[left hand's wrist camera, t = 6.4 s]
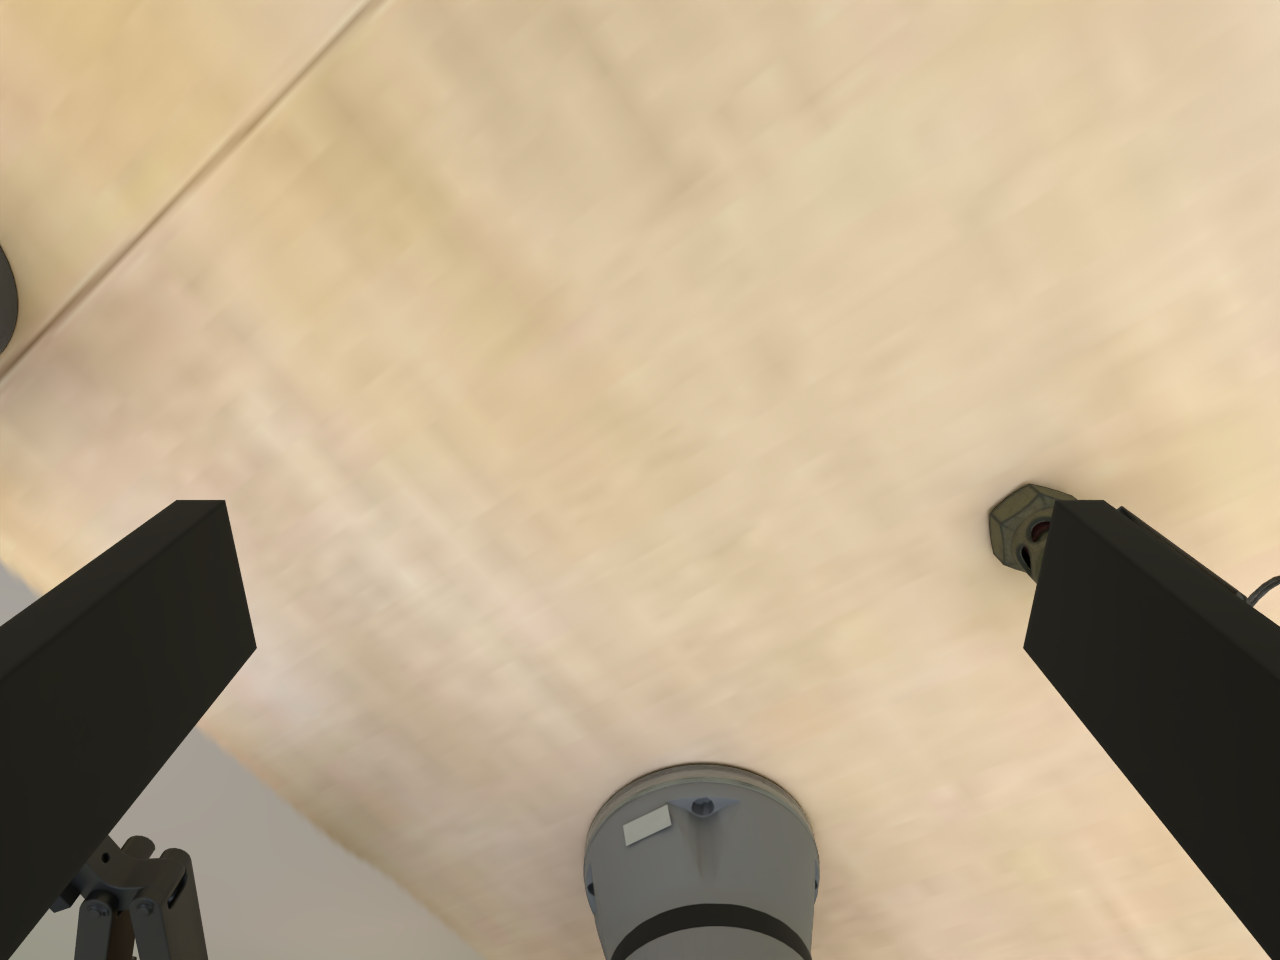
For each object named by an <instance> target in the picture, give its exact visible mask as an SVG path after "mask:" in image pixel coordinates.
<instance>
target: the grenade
mask: <svg viewBox="0 0 1280 960" xmlns="http://www.w3.org/2000/svg"><path fill="white" fill-rule="evenodd" d="M1055 500H1077V499H1076V498H1074V497H1073V496H1072V495H1069V494H1066V493H1063V492H1060V491H1056V490H1053V489H1050V488H1046V487H1042V486H1038V485H1033V484H1028V485H1026V486H1024V487H1022V488H1021V489H1019V490H1017V491H1016V492H1014V493H1013V494H1011V495H1010V496H1009V497H1007V498H1006V499H1005V500H1004V501H1002V502H1001V503H1000V504H999V505H998V506H997V507H996V508H995V509H994V510H993V511H992V512H991V513H990V521H989V524H990V536H991V543H992V548H993V554H994V555H995V556H996V557H997V558H998V559H999V561H1000V562H1001V563H1002V564H1003V565H1005V566H1008V567H1011V568H1014V569H1016V570H1020V571H1023V572H1026V573H1027V574H1028V575H1029V576H1030V577H1031V578H1032V579H1033V580H1034V581H1035V582H1036V583H1037V582H1038V577H1039V572H1040V568H1041V563H1042V558H1043V554H1044V549H1045V544H1046V540H1047V535H1048V530H1049V526H1050V521H1051V516H1052V512H1053V507H1054V503H1055ZM1117 510H1118V511H1119V512H1121V513H1122V514H1123V515H1125V516H1126V517H1128V518H1129V519H1130V520H1132V521H1133V522H1135V523H1136V524H1137V525H1139V526H1140V527H1142V528H1143V529H1144V530H1146V531H1147V532H1149V533H1150V534H1151V535H1153V536H1154V537H1156V538H1157V539H1158V540H1160V541H1161V542H1162V543H1164V544H1165V545H1167V546H1168V547H1169V548H1171V549H1172V550H1174V551H1175V552H1176V553H1178V554H1179V555H1181V556H1182V557H1183V558H1185V559H1186V560H1188V561H1189V562H1190V563H1192V564H1193V565H1195V566H1196V567H1197V568H1199V569H1200V570H1202V571H1203V572H1204V573H1206V574H1207V575H1208V576H1210V577H1211V578H1213V579H1214V580H1215V581H1217V582H1218V583H1220V584H1221V585H1222V586H1224V587H1225V588H1227V589H1228V590H1229V591H1231V592H1232V593H1234V594H1235V595H1236V596H1238V597H1239V598H1241V599H1242V600H1243V601H1245V602H1246V603H1248V604H1249V605H1250V606H1252V607H1253V606H1254V605H1255V604H1256V603H1257V602H1258V600H1259V599H1260V598H1262V597H1263V596H1264V595H1265V594H1266V593H1267V592H1268V591H1269V590H1271V589H1272V588H1274V587H1276V586H1277V585H1279V584H1280V576H1276V577H1273V578H1272V579H1270V580H1268V581H1267V582H1265V583H1263V584H1262V585H1261V586H1260V587H1259V588H1258V589H1256V590H1255V591H1254V592H1253V593H1252V594H1251V595H1250V596H1249V597H1248V598H1247V597H1246V596H1245V595H1243V594H1242V593H1241V592H1239V591H1238V590H1237V589H1235V588H1234V587H1233V586H1231V585H1230V584H1228V583H1227V582H1226V581H1224V580H1223V579H1222V578H1220V577H1219V576H1217V575H1216V574H1215V573H1213V572H1212V571H1211V570H1209V569H1208V568H1206V567H1205V566H1204V565H1202V564H1201V563H1200V562H1198V561H1197V560H1195V559H1194V558H1193V557H1191V556H1190V555H1189V554H1187V553H1186V552H1185V551H1183V550H1182V549H1180V548H1179V547H1178V546H1176V545H1175V544H1174V543H1172V542H1171V541H1169V540H1168V539H1167V538H1165V537H1164V536H1163V535H1161V534H1160V533H1158V532H1157V531H1156V530H1154V529H1153V528H1152V527H1150V526H1149V525H1147V524H1146V523H1145V522H1143V521H1142V520H1141V519H1139V518H1138V517H1136V516H1135V515H1134V514H1132V513H1131V512H1130V511H1128V510H1127V509H1125V508H1124V507H1123V506H1121V507H1119V508H1118V509H1117Z"/></svg>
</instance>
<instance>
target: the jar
mask: <svg viewBox="0 0 1280 960" xmlns="http://www.w3.org/2000/svg"><path fill="white" fill-rule="evenodd" d="M17 304H18V303H17V293H16V287H15V282H14V278H13V275H12V272H11V269H10V266H9V263H8V261H7V259H6V257H5V255H4V253H3V251H2V249H1V247H0V353H1V352H2V351H3V350H4V349H5V347H6V346H7V344H8V342H9V340H10V339H11V336H12V333H13V331H14V328H15V323H16V318H17Z"/></svg>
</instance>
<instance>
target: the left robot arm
mask: <svg viewBox="0 0 1280 960" xmlns="http://www.w3.org/2000/svg"><path fill="white" fill-rule="evenodd" d="M256 648H257V647H256V642H255V637H254V633H253V628H252V623H251V619H250V614H249V610H248V605H247V600H246V596H245V591H244V586H243V582H242V577H241V572H240V568H239V563H238V558H237V554H236V549H235V544H234V540H233V535H232V530H231V526H230V521H229V516H228V512H227V507H226V503H225V500H176V501H175V502H173V503H172V504H170V505H169V506H168V507H166V508H165V509H164V510H162V511H161V512H159V513H158V514H157V515H155V516H154V517H152V518H151V519H150V520H148V521H147V522H145V523H144V524H143V525H141V526H140V527H138V528H137V529H136V530H134V531H133V532H131V533H130V534H129V535H127V536H126V537H124V538H123V539H122V540H120V541H119V542H118V543H116V544H115V545H113V546H112V547H111V548H109V549H108V550H106V551H105V552H104V553H102V554H101V555H99V556H98V557H97V558H95V559H94V560H92V561H91V562H90V563H88V564H87V565H85V566H84V567H83V568H81V569H80V570H78V571H77V572H76V573H74V574H73V575H72V576H70V577H69V578H67V579H66V580H65V581H63V582H62V583H60V584H59V585H58V586H56V587H55V588H53V589H52V590H51V591H49V592H48V593H46V594H45V595H44V596H42V597H41V598H39V599H38V600H37V601H35V602H34V603H33V604H31V605H30V606H28V607H27V608H26V609H24V610H23V611H21V612H20V613H19V614H17V615H16V616H14V617H13V618H12V619H10V620H9V621H7V622H6V623H5V624H3V625H2V626H0V960H8V959H9V958H10V957H11V956H12V954H13V953H14V952H15V951H16V949H17V948H18V947H19V946H20V944H21V943H22V942H23V941H24V939H25V938H26V937H27V935H28V934H29V933H30V932H31V931H32V929H33V928H34V927H35V925H36V924H37V923H38V922H39V920H40V919H41V918H42V917H43V915H44V914H45V913H46V912H47V910H48V909H49V908H50V907H51V905H52V904H53V903H54V902H55V900H56V899H57V898H58V897H59V895H60V894H61V893H62V892H63V890H64V889H65V888H66V887H67V885H68V884H69V883H70V882H71V880H72V879H73V878H74V877H75V875H76V874H77V873H78V872H79V870H80V869H81V868H82V867H83V865H84V864H85V863H86V862H87V860H88V859H89V858H90V857H91V855H92V854H93V853H94V852H95V850H96V849H97V848H98V847H99V845H100V844H101V843H102V841H103V840H104V839H105V838H106V836H107V835H108V834H109V833H110V831H111V830H112V829H113V828H114V826H115V825H116V824H117V823H118V821H119V820H120V819H121V818H122V816H123V815H124V814H125V813H126V811H127V810H128V809H129V808H130V806H131V805H132V804H133V803H134V801H135V800H136V799H137V798H138V796H139V795H140V794H141V793H142V791H143V790H144V789H145V787H146V786H147V785H148V784H149V783H150V781H151V780H152V779H153V778H154V776H155V775H156V774H157V772H158V771H159V770H160V769H161V768H162V766H163V765H164V764H165V762H166V761H167V760H168V759H169V758H170V756H171V755H172V754H173V752H174V751H175V750H176V749H177V747H178V746H179V745H180V744H181V742H182V741H183V740H184V739H185V737H186V736H187V735H188V734H189V732H190V731H191V730H192V729H193V727H194V726H195V725H196V724H197V722H198V721H199V720H200V719H201V717H202V716H203V715H204V714H205V712H206V711H207V710H208V709H209V707H210V706H211V705H212V704H213V702H214V701H215V700H216V699H217V697H218V696H219V695H220V694H221V692H222V691H223V690H224V689H225V687H226V686H227V685H228V684H229V682H230V681H231V680H232V679H233V677H234V676H235V675H236V674H237V672H238V671H239V670H240V668H241V667H242V666H243V665H244V663H245V662H246V661H247V660H248V658H249V657H250V656H251V655H252V653H253V652H254V651H255V650H256ZM1023 648H1024V650H1025V651H1026V652H1027V653H1028V655H1029V656H1030V657H1031V658H1032V660H1033V661H1034V662H1035V663H1036V665H1037V666H1038V667H1039V668H1040V670H1041V671H1042V672H1043V674H1044V675H1045V676H1046V677H1047V679H1048V680H1049V681H1050V682H1051V684H1052V685H1053V686H1054V687H1055V689H1056V690H1057V691H1058V692H1059V694H1060V695H1061V696H1062V697H1063V699H1064V700H1065V701H1066V702H1067V704H1068V705H1069V706H1070V707H1071V709H1072V710H1073V711H1074V712H1075V714H1076V715H1077V716H1078V717H1079V719H1080V720H1081V721H1082V722H1083V724H1084V725H1085V726H1086V727H1087V729H1088V730H1089V731H1090V732H1091V734H1092V735H1093V736H1094V737H1095V739H1096V740H1097V741H1098V742H1099V744H1100V745H1101V746H1102V747H1103V749H1104V750H1105V751H1106V752H1107V754H1108V755H1109V756H1110V758H1111V759H1112V760H1113V761H1114V763H1115V764H1116V765H1117V766H1118V768H1119V769H1120V770H1121V771H1122V773H1123V774H1124V775H1125V776H1126V778H1127V779H1128V780H1129V781H1130V783H1131V784H1132V785H1133V786H1134V788H1135V789H1136V790H1137V791H1138V793H1139V794H1140V795H1141V796H1142V798H1143V799H1144V800H1145V801H1146V803H1147V804H1148V805H1149V806H1150V808H1151V809H1152V810H1153V811H1154V813H1155V814H1156V815H1157V816H1158V818H1159V819H1160V820H1161V821H1162V823H1163V824H1164V825H1165V826H1166V828H1167V829H1168V830H1169V831H1170V833H1171V834H1172V835H1173V836H1174V838H1175V839H1176V840H1177V841H1178V843H1179V844H1180V845H1181V847H1182V848H1183V849H1184V850H1185V852H1186V853H1187V854H1188V855H1189V857H1190V858H1191V859H1192V860H1193V862H1194V863H1195V864H1196V865H1197V867H1198V868H1199V869H1200V870H1201V872H1202V873H1203V874H1204V875H1205V877H1206V878H1207V879H1208V880H1209V882H1210V883H1211V884H1212V885H1213V887H1214V888H1215V889H1216V890H1217V892H1218V893H1219V894H1220V895H1221V897H1222V898H1223V899H1224V900H1225V902H1226V903H1227V904H1228V905H1229V907H1230V908H1231V909H1232V910H1233V912H1234V913H1235V914H1236V915H1237V917H1238V918H1239V919H1240V920H1241V922H1242V923H1243V924H1244V925H1245V927H1246V928H1247V929H1248V931H1249V932H1250V933H1251V934H1252V936H1253V937H1254V938H1255V939H1256V941H1257V942H1258V943H1259V944H1260V946H1261V947H1262V948H1263V949H1264V951H1265V952H1266V953H1267V954H1268V956H1269V957H1270V958H1271V959H1272V960H1280V626H1278V625H1277V624H1275V623H1274V622H1273V621H1271V620H1270V619H1268V618H1267V617H1266V616H1264V615H1263V614H1261V613H1260V612H1259V611H1257V610H1256V609H1254V608H1253V607H1252V606H1250V605H1249V604H1248V603H1246V602H1245V601H1243V600H1242V599H1241V598H1239V597H1238V596H1236V595H1235V594H1234V593H1232V592H1231V591H1229V590H1228V589H1227V588H1225V587H1224V586H1222V585H1221V584H1220V583H1218V582H1217V581H1215V580H1214V579H1213V578H1211V577H1210V576H1208V575H1207V574H1206V573H1204V572H1203V571H1202V570H1200V569H1199V568H1197V567H1196V566H1195V565H1193V564H1192V563H1190V562H1189V561H1188V560H1186V559H1185V558H1183V557H1182V556H1181V555H1179V554H1178V553H1176V552H1175V551H1174V550H1172V549H1171V548H1169V547H1168V546H1167V545H1165V544H1164V543H1162V542H1161V541H1160V540H1158V539H1157V538H1156V537H1154V536H1153V535H1151V534H1150V533H1149V532H1147V531H1146V530H1144V529H1143V528H1142V527H1140V526H1139V525H1137V524H1136V523H1135V522H1133V521H1132V520H1130V519H1129V518H1128V517H1126V516H1125V515H1123V514H1122V513H1121V512H1119V511H1118V510H1116V509H1115V508H1114V507H1112V506H1111V505H1110V504H1108V503H1107V502H1105V501H1104V500H1055V503H1054V507H1053V512H1052V516H1051V521H1050V526H1049V530H1048V535H1047V540H1046V544H1045V549H1044V554H1043V558H1042V563H1041V568H1040V572H1039V577H1038V582H1037V586H1036V591H1035V596H1034V600H1033V605H1032V610H1031V614H1030V619H1029V623H1028V628H1027V633H1026V637H1025V642H1024V647H1023Z"/></svg>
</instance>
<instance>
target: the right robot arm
mask: <svg viewBox="0 0 1280 960" xmlns="http://www.w3.org/2000/svg"><path fill="white" fill-rule="evenodd" d="M154 850H155V845H154V843H153V842H152V841H151V840H150V839H148V838H146V837H143V836H133V837H130V838H129V839H128V840H127V841H126V843H125V844H124V845H123V847H122V848H121V849H120V848H119V847H118V846H117V844H116V843H115V842H114V841H113V840H112V839H111V838H110V837H109V835H107V836H106V838H105V839H104V840H103V841H102V843H101V844H100V845H99V847H98V848H97V849H96V850H95V852H94V853H93V854H92V855H91V857H90V858H89V859H88V860H87V862H86V863H85V864H84V865H83V867H82V868H81V869H80V870H79V872H78V873H77V874H76V875H75V877H74V878H73V879H72V880H71V882H70V883H69V884H68V885H67V887H66V888H65V889H64V890H63V892H62V893H61V894H60V895H59V897H58V898H57V899H56V900H55V902H54V903H53V904H52V905H51V907H50V909H51V910H52V911H53V912H54V913H55V912H58V911H61V910H64V909H67V908H70V907H71V906H72V905H73V903H74V902H75V900H76V899H77V898H78V896H79V895H80V894H81V895H82V896H83V897H84V899H85V900H84V901H83V903H82V904H81V906H80V910H79V919H78V929H77V938H76V947H75V957H74V960H136V959H137V958H136V957H133V956H132V954H133V947H134V940H135V939H136V944H137V948H138V953H139V957H140V960H208V956H207V950H206V944H205V938H204V932H203V926H202V921H201V915H200V909H199V903H198V897H197V891H196V885H195V880H194V874H193V868H192V862H191V858H190V856H189V854H187V853H186V852H185V851H183V850H181V849H177V848H170V849H167V850H165V851H164V852H163V853H162V855H161V856H160V858H153V859H149V858H150V856H151V855H152V853H153V851H154ZM819 877H820V874H819V856H818V851H817V847H816V843H815V839H814V836H813V832H812V828H811V825H810V823H809V820H808V818H807V817H806V815H805V813H804V811H803V810H802V809H801V807H800V806H799V804H798V803H797V802H796V801H795V800H794V799H793V798H792V797H791V796H790V795H789V794H788V793H787V792H786V791H784V790H783V789H782V788H780V787H779V786H777V785H776V784H774V783H773V782H771V781H769V780H767V779H765V778H763V777H761V776H759V775H757V774H754V773H751V772H748V771H745V770H741V769H737V768H733V767H727V766H720V765H701V764H700V765H686V766H679V767H673V768H669V769H664V770H661V771H658V772H655V773H652V774H649V775H647V776H644V777H642V778H640V779H638V780H636V781H634V782H632V783H631V784H629V785H627V786H626V787H624V788H623V789H621V790H620V791H619V792H617V793H616V794H615V795H614V796H613V797H612V798H611V799H610V800H608V802H607V803H606V804H605V805H604V806H603V807H602V808H601V810H600V811H599V813H598V814H597V815H596V817H595V819H594V821H593V823H592V825H591V827H590V830H589V832H588V836H587V840H586V846H585V857H584V882H585V888H586V894H587V898H588V901H589V905H590V907H591V910H592V912H593V914H594V917H595V923H596V928H597V931H598V935H599V938H600V942H601V945H602V948H603V952H604V955H605V958H606V960H812V958H811V940H812V927H813V915H814V903H815V901H816V897H817V893H818V886H819Z"/></svg>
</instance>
